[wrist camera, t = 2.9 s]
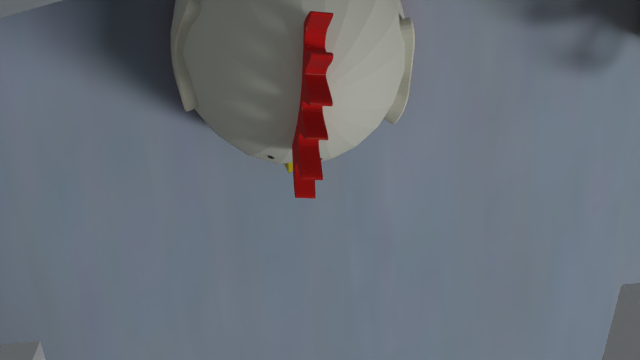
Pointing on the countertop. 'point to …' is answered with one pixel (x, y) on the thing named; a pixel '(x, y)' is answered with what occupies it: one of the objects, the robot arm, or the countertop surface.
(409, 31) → the kitchen timer
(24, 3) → the slate block
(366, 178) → the countertop surface
